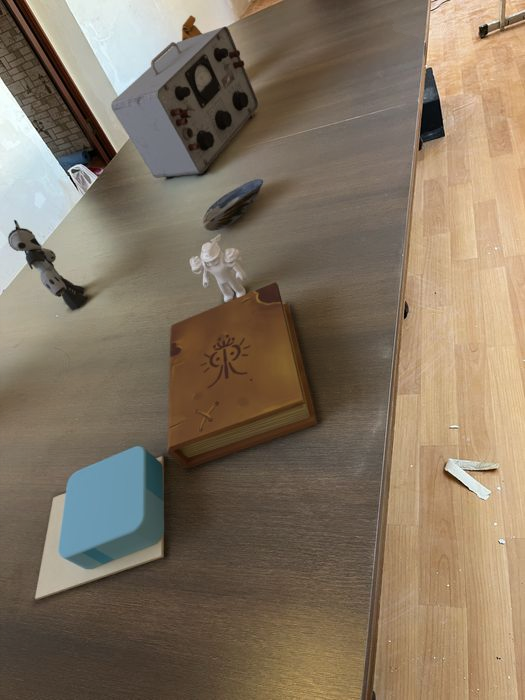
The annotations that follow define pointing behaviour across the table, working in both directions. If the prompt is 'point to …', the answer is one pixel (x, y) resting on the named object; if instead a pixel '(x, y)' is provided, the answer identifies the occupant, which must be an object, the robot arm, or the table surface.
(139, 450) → the data package
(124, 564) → the mat
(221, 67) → the vintage electronic device
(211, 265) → the hat wearing toy figure
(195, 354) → the diary
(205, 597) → the table surface
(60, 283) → the robot
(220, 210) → the seashell
